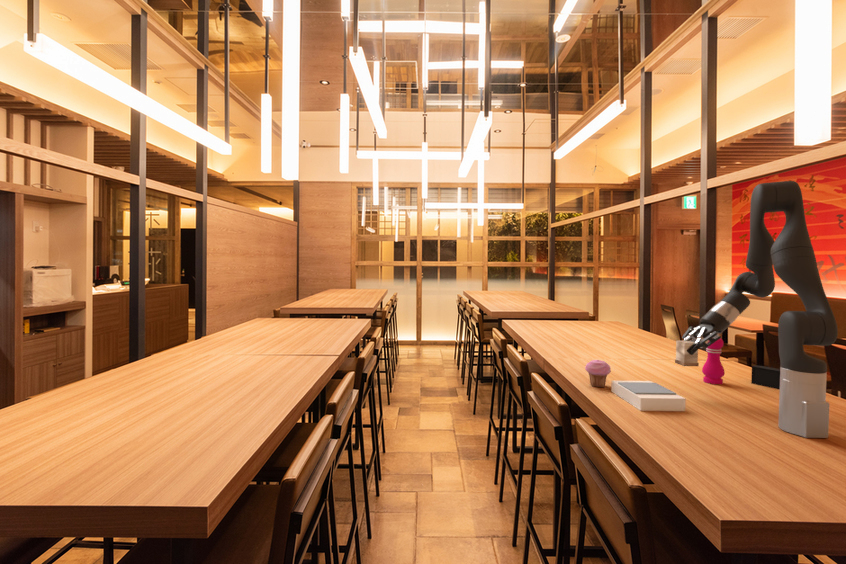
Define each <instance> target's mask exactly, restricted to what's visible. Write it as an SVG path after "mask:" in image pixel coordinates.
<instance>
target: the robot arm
mask: <svg viewBox="0 0 846 564" xmlns="http://www.w3.org/2000/svg"><path fill="white" fill-rule="evenodd" d="M750 197H751V198H750V208H749V209H750V210H749V243H748V249H747V254H746V260H745V267H746V268H747V269H748V270H749V271H744V272H742V273H740V274H738V276H737V277H736V279H735V280H734V283H733V285H732V287H731V288H730V290H729V291H728V293H727V294H726V295H725V296H724V297H723V298H722V299H721V300H719V302H717V303H716V304H714V305H713V306H712V307H711V308H710V309H709V310H708V311H707V312H705V314H704V315H703V316H702V317H701V318H700V324H699V325H697V326H696V327H694V326H689V327H688V328H687V330H686V331H685V332H684V334H683V335H682V336H681V338H682V339H683V341H692V342H695V343H696V344H695V343H694V344H693V345H691V346H690V347H689V348H688V349H687V352H688V353H689V354H690V355H693V354H694V353H695V352H696V351H697V350H698V351H699V349H703V348H705V349H706V348H707V347H709V346H710V345H711V344H713V343H714V342H716V341H717V340H719V339H720V338H721V339H722V336H721V335H720V334H723V333H724V332H725V330H727V329H728V328H729V327H730V326H731V325H732V324H733V323H734V322H735V321H736V320H737V318H738V317H739V316H740V315H741V314H742V313H743V312H744V311H745V310H746V309H747V308H748V307H749V306H750V305H751V300H750V299H749V297H747V296H746V295H745V294H744V293H748V294H749V295H752V296H755V297H758V298H767V297H769V296H770V295H771V294H772V293H773V292H774V290H775V287H776V280H775V274H776V276H778V278H779V279H780V280H781V281H782V282H783V283H784V284H786V285H787V287H789V288H790V289H791V290H792V291H793V292H794V293H795V294H796V295H797V296H798V297H799V299H800V300H801V302H802V304H803V306H804V308H805V311H803V310H788V311H784V312H783V313H782V314H781V315H780V317H779V320H778V324H777V325H778V326H777V334H778V356H779V360H780V362H779V363H780V365H779V366H780V367H779V369H780V389H779V394H778V395H779V396H778V399H779V401H778V428H779V429H781V430H782V431H784V432H787V433H790V434H792V435H796V436H800V437H802V438H805V439H807V438H809V439H811V438H812V439H813V438H814V439H815V438H816V439H818V438H819V439H828V438H829V429H830V428H829V427H830V426H829V424H830V402H828V401H826V400H827V397H826V396H827V379H828V378H827V376H828V374H827V373H828V365H827V362H826V361H825V360H823V359H820V358H817V357H813V356H811V355H809V354H807V353H806V352H805V350H804V346H819V347H820V346H822V347H825V346H826V347H827V346H832V345H834V344H835V342H836V341H837V340H838V334H839V332H838V331H839V330H838V323H837V320H836V317H835V315H834V312H833V310H832V307H831V304H830V303H829V300H828V298H827V294H826V292H825V290H824V287H823V283H822V280H821V276H820V273H819V268H818V262H817V258H816V254H815V250H814V248H813V245H812V241H811V237H810V235H809V234H810V233H809V230H808V227H807V222H806V215H805V206H804V201H803V199H804V198H803V193H802V189H801V187H800V185H799V183H798V182H797V181H795V180H784V181H772V182H762V183H758V184H757V185H756V186H754V188H753V190H752V192H751V196H750ZM781 212H783V213H784V215H785V222H784V226H783V228H782V229H781V231H780V232H779V234H778V235H777V237H776V238H775V239H774V237H773V236H772V235H771V233H770V231H769V230H768V228H767V226H766V224H765V215H766V214H768V213H781ZM774 272H775V273H774ZM712 338H713V339H712ZM708 341H709V342H708Z"/></svg>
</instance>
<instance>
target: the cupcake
mask: <svg viewBox="0 0 846 564" xmlns="http://www.w3.org/2000/svg"><path fill="white" fill-rule="evenodd" d="M584 368H585V371H586V372H587V373H588V376H589V383H590V384H589V385H591V387H596V388H597V387H598V388H606V383H607V376H608V375H609V374H610V373H611V372H612V370H611V369H612V368H611V366H610V364H609V363H607V362H606V361H605V360H600V359H593V360H590V361H588V362H587V363H586V365H585V367H584Z"/></svg>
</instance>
